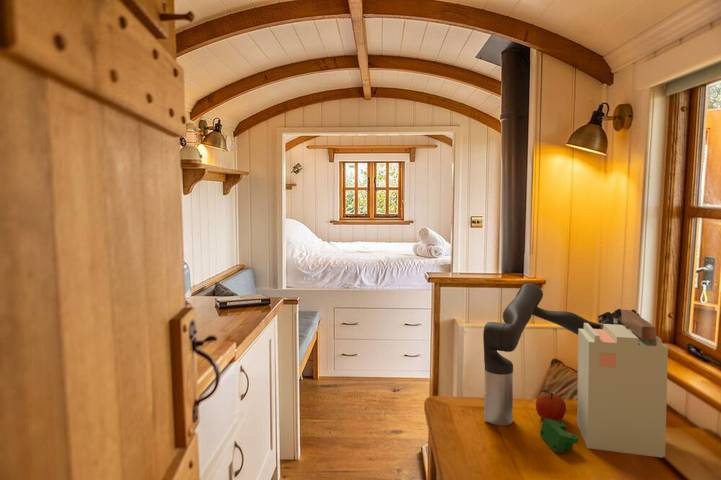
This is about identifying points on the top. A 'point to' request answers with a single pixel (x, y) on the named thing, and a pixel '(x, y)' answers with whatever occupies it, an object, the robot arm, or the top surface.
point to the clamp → (557, 435)
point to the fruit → (550, 406)
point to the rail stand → (622, 391)
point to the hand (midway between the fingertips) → (626, 312)
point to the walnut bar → (638, 325)
